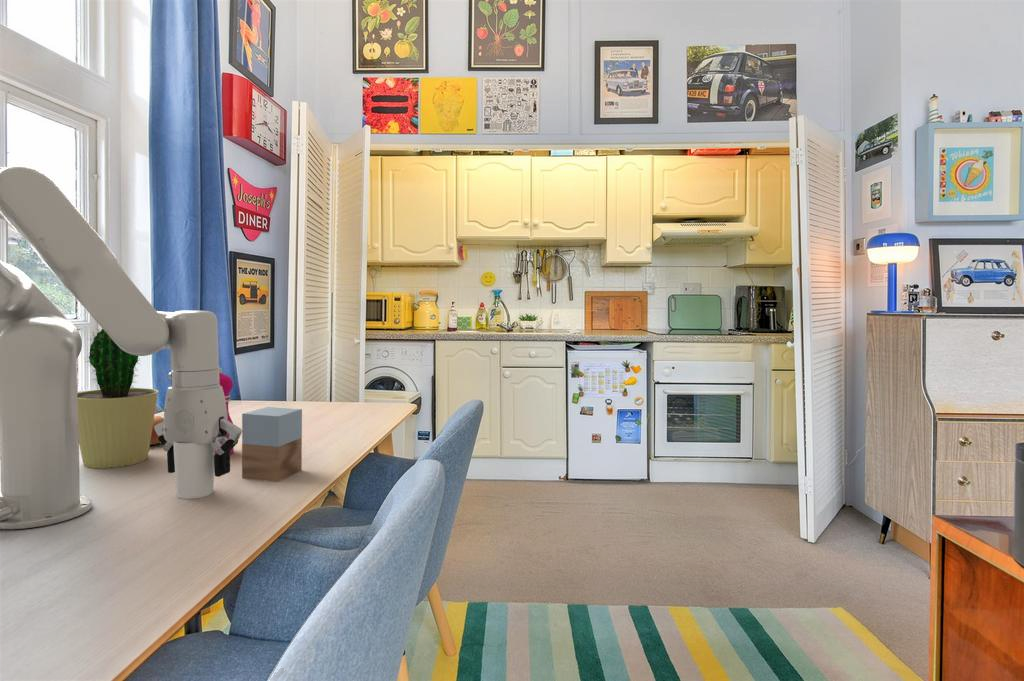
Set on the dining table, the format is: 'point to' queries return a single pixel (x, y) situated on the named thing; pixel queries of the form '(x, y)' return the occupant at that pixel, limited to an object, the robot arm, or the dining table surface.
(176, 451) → the white cup
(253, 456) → the walnut block
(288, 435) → the slate block
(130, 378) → the potted cactus
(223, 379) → the pepper mill
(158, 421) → the apple
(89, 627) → the dining table surface
